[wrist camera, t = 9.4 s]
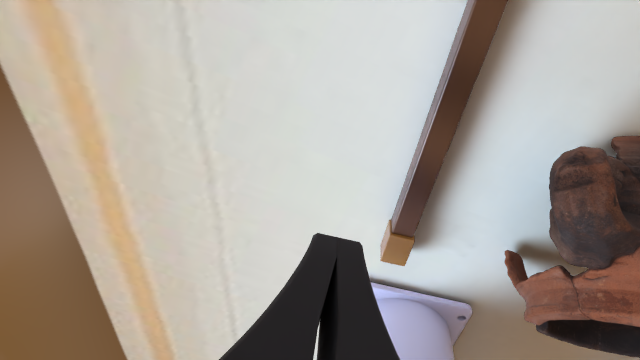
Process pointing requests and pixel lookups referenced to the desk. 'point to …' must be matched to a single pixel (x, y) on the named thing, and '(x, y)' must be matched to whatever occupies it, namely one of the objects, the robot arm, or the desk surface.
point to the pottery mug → (590, 252)
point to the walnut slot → (441, 123)
